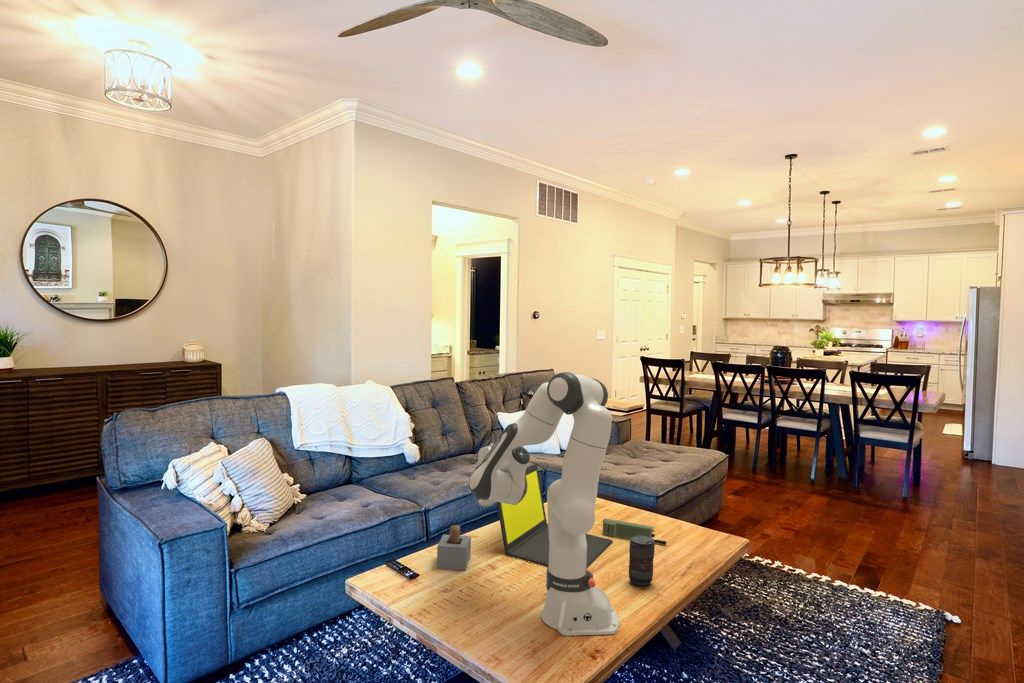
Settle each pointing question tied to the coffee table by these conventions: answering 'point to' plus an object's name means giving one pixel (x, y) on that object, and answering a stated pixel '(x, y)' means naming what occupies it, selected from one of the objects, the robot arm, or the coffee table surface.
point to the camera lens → (641, 561)
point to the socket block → (453, 553)
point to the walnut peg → (454, 534)
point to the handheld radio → (627, 530)
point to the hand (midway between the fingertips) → (476, 482)
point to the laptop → (535, 527)
